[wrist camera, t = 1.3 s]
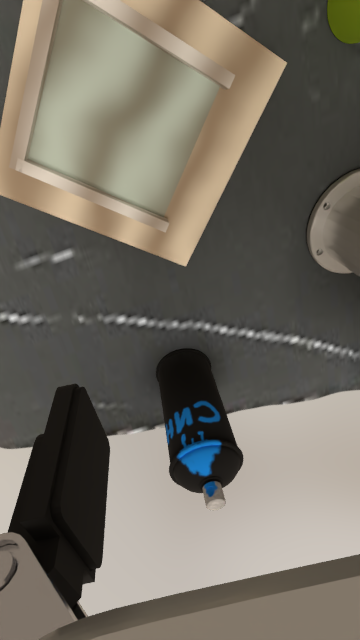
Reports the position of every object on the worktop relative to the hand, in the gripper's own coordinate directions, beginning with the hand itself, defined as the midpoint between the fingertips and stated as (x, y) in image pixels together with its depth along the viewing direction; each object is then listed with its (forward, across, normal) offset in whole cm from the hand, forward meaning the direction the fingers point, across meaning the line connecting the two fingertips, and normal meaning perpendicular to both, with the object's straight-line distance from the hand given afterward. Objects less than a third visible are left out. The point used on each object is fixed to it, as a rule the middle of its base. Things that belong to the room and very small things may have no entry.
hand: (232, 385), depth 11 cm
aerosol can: (+30, +2, +25) cm, 39 cm away
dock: (+29, +2, -6) cm, 30 cm away
